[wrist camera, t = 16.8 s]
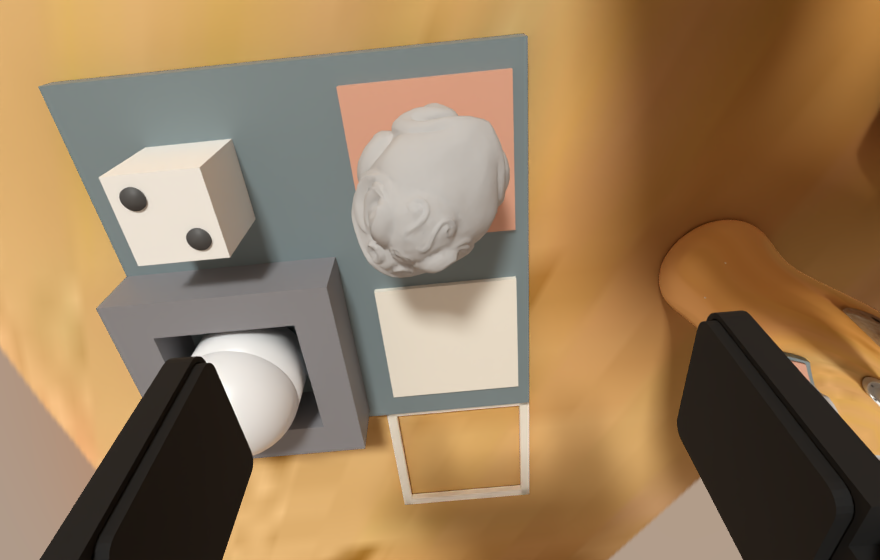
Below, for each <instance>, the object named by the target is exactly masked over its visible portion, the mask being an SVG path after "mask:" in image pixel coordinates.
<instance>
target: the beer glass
mask: <svg viewBox="0 0 880 560" xmlns="http://www.w3.org/2000/svg"><path fill="white" fill-rule="evenodd" d="M659 287H660V291H661V294H662V296H663V298H664V299H665V301H666V302H667V303H668V304H669V305H670V306H671V307H672V308H673V309H674V310H675V311H676V312H678V313H679V314H680V315H681V316H683V317H684V318H685V319H687V320H688V321H689V322H690V323H691V324H692V325H693V326H694V327H695V328H696V329H698V326H699V324H700V322H703V321H706V320H707V318H708V316H709V315H710V314H711V313H716V312H728V311H740V310H743V311H746V312H748V313H749V314H750V315H751V316H752V317H753V318H754V320H755V321H756V322H757V323H758V324H759V325H760V326H761V327H762V329H763V330H764V331H765V332H766V333H767V334H768V335H769V337H770V338H771V339H772V340H773V341H774V342H775V343H776V344H777V346H778V347H779V348H780V349H781V350H782V351H783V352H784V354H785V355H786V356H787V357H788V358H789V359H790V360H791V362H792V363H793V364H794V365H795V366H796V367H797V368H798V369H799V371H800V372H801V373H802V374H803V375H804V376H805V377H806V379H807V380H808V381H809V382H810V383H811V384H812V385H813V386H814V387H815V388H816V389H817V390H818V391H819V392H820V394H821V395H822V396H823V397H824V398H825V399H826V400H827V401H828V403H829V404H830V405H831V406H832V407H833V408H834V409H835V411H836V412H837V413H838V414H839V415H840V416H841V417H842V418H843V420H844V421H845V422H846V423H847V424H848V425H849V426H850V428H851V429H852V430H853V431H854V432H855V433H856V434H857V435H858V437H859V438H860V439H861V440H862V441H863V442H864V443H865V445H866V446H867V447H868V448H869V449H870V450H871V451H872V452H873V454H874V455H875V456H876V457H877V458H878V459H879V460H880V312H879V311H878V310H876V309H874V308H872V307H870V306H869V305H867V304H865V303H863V302H861V301H859V300H857V299H855V298H853V297H850V296H848V295H846V294H844V293H842V292H840V291H838V290H836V289H834V288H832V287H830V286H828V285H826V284H824V283H821V282H819V281H817V280H815V279H813V278H811V277H810V276H808V275H806V274H804V273H802V272H800V271H799V270H797V269H796V268H794V267H793V266H791V265H790V264H789V263H788V262H787V261H785V260H784V259H783V258H782V256H781V255H780V254H779V253H778V251H777V250H776V248H775V247H774V246H773V244H772V243H771V242H770V240H769V239H768V238H767V237H766V235H765V234H764V233H763V232H762V231H761V230H759V229H758V228H757V227H755V226H754V225H752V224H749V223H747V222H743V221H739V220H718V221H714V222H710V223H707V224H704V225H701V226H699V227H697V228H695V229H693V230H692V231H690V232H689V233H687V234H686V235H684V236H683V237H682V238H681V239H679V240H678V241H677V242H676V243H675V244H674V245H673V246H672V248H671V249H670V250H669V252H668V253H667V255H666V256H665V258H664V260H663V262H662V265H661V268H660V272H659Z"/></svg>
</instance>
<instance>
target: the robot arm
mask: <svg viewBox="0 0 880 560" xmlns="http://www.w3.org/2000/svg"><path fill="white" fill-rule="evenodd" d="M677 427H678V432H679V436H680V438H681V440H682V442H683V444H684V446H685V448H686V450H687V452H688V454H689V456H690V458H691V459H692V461H693V463H694V465H695V467H696V469H697V471H698V473H699V475H700V477H701V479H702V481H703V483H704V485H705V487H706V489H707V490H708V492H709V494H710V496H711V498H712V500H713V502H714V504H715V506H716V508H717V510H718V512H719V514H720V516H721V518H722V519H723V521H724V523H725V525H726V527H727V529H728V531H729V533H730V535H731V537H732V539H733V541H734V543H735V545H736V546H737V548H738V550H739V552H740V554H741V556H742V558H743V560H880V460H879V459H878V458H877V457H876V456H875V455H874V454H873V452H872V451H871V450H870V449H869V448H868V447H867V446H866V445H865V443H864V442H863V441H862V440H861V439H860V438H859V437H858V435H857V434H856V433H855V432H854V431H853V430H852V429H851V428H850V426H849V425H848V424H847V423H846V422H845V421H844V420H843V418H842V417H841V416H840V415H839V414H838V413H837V412H836V411H835V409H834V408H833V407H832V406H831V405H830V404H829V403H828V401H827V400H826V399H825V398H824V397H823V396H822V395H821V394H820V392H819V391H818V390H817V389H816V388H815V387H814V386H813V385H812V384H811V383H810V382H809V381H808V380H807V379H806V377H805V376H804V375H803V374H802V373H801V372H800V371H799V369H798V368H797V367H796V366H795V365H794V364H793V363H792V362H791V360H790V359H789V358H788V357H787V356H786V355H785V354H784V352H783V351H782V350H781V349H780V348H779V347H778V346H777V344H776V343H775V342H774V341H773V340H772V339H771V338H770V337H769V335H768V334H767V333H766V332H765V331H764V330H763V329H762V327H761V326H760V325H759V324H758V323H757V322H756V321H755V320H754V318H753V317H752V316H751V315H750V314H749V313H748V312H746V311H743V310H740V311H728V312H716V313H711V314H710V315H709V316H708V318H707V320H706V321H703V322H700V324H699V326H698V329H697V333H696V338H695V342H694V347H693V351H692V356H691V360H690V365H689V369H688V373H687V378H686V382H685V387H684V391H683V396H682V400H681V405H680V409H679V414H678V418H677ZM252 468H253V455H252V452H251V449H250V447H249V445H248V442H247V440H246V438H245V435H244V433H243V431H242V428H241V426H240V424H239V422H238V419H237V417H236V415H235V412H234V410H233V408H232V405H231V403H230V401H229V398H228V396H227V394H226V391H225V389H224V387H223V385H222V382H221V380H220V378H219V375H218V373H217V371H216V368H215V367H214V365H213V364H212V363H206V361H205V360H204V359H203V358H202V357H200V356H194V357H182V358H171V359H168V360H167V361H166V362H165V363H164V364H163V366H162V368H161V369H160V371H159V372H158V374H157V375H156V377H155V379H154V380H153V382H152V383H151V385H150V386H149V388H148V390H147V391H146V393H145V394H144V396H143V397H142V399H141V401H140V402H139V404H138V405H137V407H136V409H135V410H134V412H133V413H132V415H131V416H130V418H129V420H128V421H127V423H126V424H125V426H124V427H123V429H122V431H121V432H120V434H119V435H118V437H117V438H116V440H115V442H114V443H113V445H112V446H111V448H110V450H109V451H108V453H107V454H106V456H105V457H104V459H103V461H102V462H101V464H100V465H99V467H98V468H97V470H96V472H95V473H94V475H93V476H92V478H91V480H90V481H89V483H88V484H87V486H86V487H85V489H84V491H83V492H82V494H81V495H80V497H79V498H78V500H77V502H76V504H75V505H74V506H73V508H72V510H71V511H70V513H69V515H68V516H67V518H66V519H65V521H64V522H63V524H62V525H61V527H60V529H59V530H58V532H57V533H56V535H55V536H54V538H53V540H52V541H51V543H50V544H49V546H48V547H47V549H46V551H45V552H44V554H43V555H42V557H41V558H40V560H222V559H223V556H224V553H225V550H226V547H227V544H228V541H229V538H230V535H231V532H232V529H233V526H234V523H235V520H236V517H237V514H238V511H239V508H240V505H241V502H242V499H243V496H244V493H245V490H246V487H247V484H248V481H249V478H250V475H251V472H252Z"/></svg>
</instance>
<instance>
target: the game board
mask: <svg viewBox="0 0 880 560" xmlns="http://www.w3.org/2000/svg"><path fill="white" fill-rule="evenodd" d="M39 89H40V91H41V94H42V96H43V98H44V100H45V102H46V104H47V106H48V109H49V111H50V113H51V115H52V117H53V119H54V121H55V124H56V126H57V128H58V130H59V132H60V134H61V136H62V139H63V141H64V143H65V145H66V147H67V149H68V151H69V154H70V156H71V158H72V160H73V162H74V164H75V166H76V169H77V171H78V173H79V175H80V177H81V179H82V181H83V184H84V186H85V188H86V190H87V192H88V194H89V196H90V199H91V201H92V203H93V205H94V207H95V209H96V211H97V214H98V216H99V218H100V220H101V222H102V224H103V226H104V229H105V231H106V233H107V235H108V237H109V239H110V241H111V244H112V246H113V248H114V250H115V252H116V254H117V256H118V259H119V261H120V263H121V265H122V267H123V269H124V271H125V274H126V276H127V277H126V278H125V279H124V280H123V281H122V282H121V283H120V284H119V285H118V286H117V287H116V288H115V289H114V291H113V292H112V293H111V294H110V295H109V296H108V297H107V298H106V299H105V300H104V301H103V302H102V303H101V304H100V305H99V306H98V307H97V308H96V310H97V312H98V314H99V315H100V317H101V319H102V321H103V323H104V325H105V327H106V329H107V331H108V333H109V335H110V337H111V338H112V340H113V342H114V344H115V346H116V348H117V350H118V352H119V354H120V356H121V358H122V360H123V361H124V363H125V365H126V367H127V369H128V371H129V373H130V375H131V377H132V379H133V381H134V383H135V384H136V386H137V388H138V390H139V392H140V394H141V396H142V397H143V396H144V394H145V393H146V391H147V390H148V388H149V386H150V385H151V383H152V382H153V380H154V379H155V377H156V375H157V374H158V372H159V371H160V369H161V368H162V366H163V364H164V363H165V362H166V361H167V360H168V359H171V358H182V357H191V356H192V354H193V353H194V351H195V349H196V348H197V346H198V344H199V343H200V341H201V339H202V337H203V336H204V334H207V333H218V332H229V331H240V330H251V329H261V328H272V327H283V326H285V327H287V328H288V329H290V330H291V331H292V332H293V333H294V334H295V335H296V336H297V337H298V340H299V344H300V347H301V350H302V354H303V357H304V361H305V364H306V368H307V371H308V375H307V378H306V382H305V385H304V389H303V392H302V396H301V399H300V403H299V406H298V410H297V413H296V416H295V418H294V420H293V422H292V424H291V426H290V427H289V429H288V430H287V432H286V433H285V434H284V435H283V436H282V438H281V439H280V440H278V441H277V442H276V443H275V444H274V445H273V446H271V447H270V448H268V449H266V450H265V451H263V452H261V453H259V454H256V455H253V458H262V457H273V456H285V455H296V454H308V453H319V452H330V451H342V450H353V449H365V446H366V437H367V429H368V420H369V416H380V415H387V418H388V423H389V428H390V433H391V438H392V443H393V448H394V453H395V458H396V463H397V468H398V473H399V478H400V483H401V488H402V493H403V498H404V503H405V505H409V504H420V503H432V502H444V501H456V500H467V499H479V498H491V497H503V496H514V495H526V494H529V265H528V36H527V35H525V34H524V33H523V34H514V35H504V36H495V37H485V38H475V39H466V40H456V41H446V42H437V43H427V44H417V45H408V46H398V47H388V48H379V49H369V50H359V51H350V52H340V53H331V54H321V55H311V56H302V57H292V58H282V59H273V60H263V61H253V62H244V63H234V64H224V65H215V66H205V67H195V68H186V69H176V70H167V71H157V72H147V73H138V74H128V75H118V76H109V77H99V78H89V79H80V80H70V81H60V82H52V83H49V84H45V85H42V86H39ZM431 103H439V104H441V105H444V106H447V107H449V108H451V109H453V110H454V111H455V112H456V113H457V114H458V116H472V117H477V118H481V119H485V120H487V121H489V122H490V124H491V125H492V127H493V128H494V130H495V132H496V134H497V136H498V139H499V141H500V143H501V146H502V150H503V151H504V152H505V155H506V157H507V160H508V164H509V168H510V180H509V184H508V187H507V189H506V192H505V198H504V201H503V202H502V204H501V205H500V206H498V209H497V213H496V216H495V218H494V220H493V222H492V224H491V226H490V228H489V229H488V231H487V232H486V233H485V235H484V236H483V237H482V238H481V239H480V240H479V241H477V242H476V243H474V248H473V249H472V251H471V252H470V253H469V254H468V255H466V256H464V257H463V258H461V259H459V260H458V261H456V262H454V263H453V264H451V265H450V266H448V267H447V268H445V269H444V270H442V271H440V272H437V273H427V272H426V273H423V274H420V275H416V276H412V277H403V278H398V277H391V276H388V275H385V274H383V273H381V272H379V271H378V270H376V269H375V268H374V267H373V266H372V265H371V264H370V263H369V262H368V261H367V259H366V258H365V256H364V254H363V252H362V249H361V247H360V245H359V243H358V239H357V236H356V233H355V230H354V226H353V222H352V215H351V211H352V204H353V197H354V194H355V192H356V189H357V185H358V183H359V181H358V178H357V166H358V161H359V159H360V156H361V154H362V152H363V150H364V148H365V147H366V145H367V144H368V143H369V142H370V140H371V139H372V138H373V136H374V135H375V134H376V133H378V132H380V131H392V124H393V122H394V121H395V120H396V119H397V118H398V117H399V116H400V115H402V114H403V113H405V112H407V111H410V110H412V109H414V108H418V107H424V106H425V105H427V104H431ZM508 406H519V442H520V485H514V486H502V487H491V488H479V489H467V490H455V491H444V492H432V493H420V494H412V491H411V486H410V480H409V475H408V469H407V464H406V459H405V453H404V448H403V442H402V437H401V432H400V426H399V421H398V416H406V415H418V414H429V413H440V412H451V411H463V410H474V409H485V408H496V407H508Z"/></svg>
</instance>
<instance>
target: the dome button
mask: <svg viewBox="0 0 880 560" xmlns="http://www.w3.org/2000/svg"><path fill="white" fill-rule="evenodd" d="M194 356H200V357H202V358H203V359H204V360H205V361H206V363H212V364H213V365H214V367H215V368H216V371H217V373H218V375H219V378H220V380H221V382H222V385H223V387H224V389H225V391H226V394H227V396H228V398H229V401H230V403H231V405H232V408H233V410H234V412H235V415H236V417H237V419H238V422H239V424H240V426H241V428H242V431H243V433H244V435H245V438H246V440H247V442H248V445H249V447H250V449H251V452H252V455H256V454H259V453H261V452H263V451H265V450H266V449H268V448H270V447H271V446H273V445H274V444H275V443H276V442H277V441H278V440H280V439H281V438H282V436H283V435H284V434H285V433H286V432H287V430H288V429H289V427H290V426H291V424H292V422H293V420H294V418H295V416H296V413H297V410H298V406H299V403H300V399H301V396H302V392H303V389H304V385H305V382H306V378H307V375H308V371H307V368H306V364H305V361H304V357H303V354H302V350H301V347H300V344H299V340H298V337H297V336H296V335H295V334H294V333H293V332H292V331H291V330H290V329H288V328H287V327H285V326H283V327H272V328H261V329H251V330H240V331H229V332H218V333H207V334H204V336H203V337H202V339H201V341H200V343H199V344H198V346H197V348H196V349H195V351H194V353H193V354H192V356H191V357H194Z"/></svg>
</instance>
